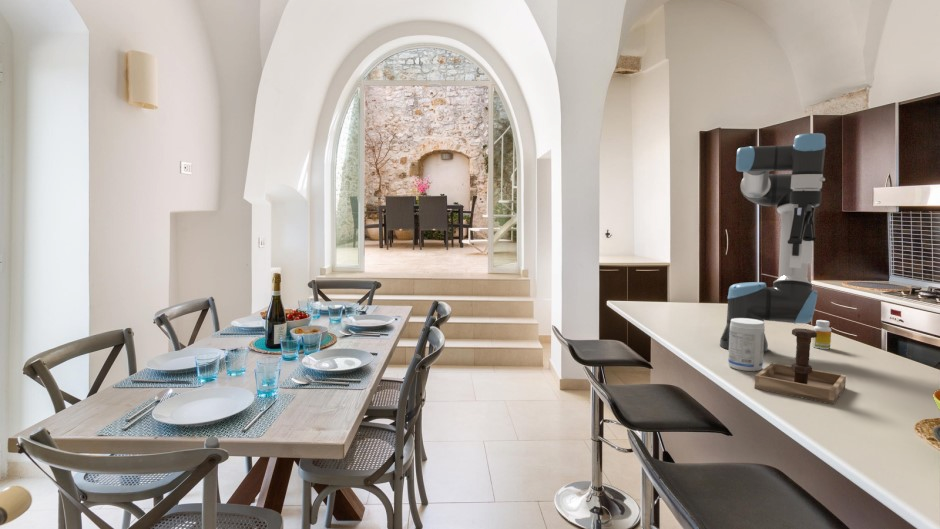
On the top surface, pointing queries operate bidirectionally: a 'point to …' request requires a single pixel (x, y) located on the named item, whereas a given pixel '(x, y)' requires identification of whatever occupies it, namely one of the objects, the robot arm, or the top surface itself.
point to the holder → (817, 388)
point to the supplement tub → (746, 344)
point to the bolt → (802, 354)
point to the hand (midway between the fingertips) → (800, 265)
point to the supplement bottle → (822, 335)
